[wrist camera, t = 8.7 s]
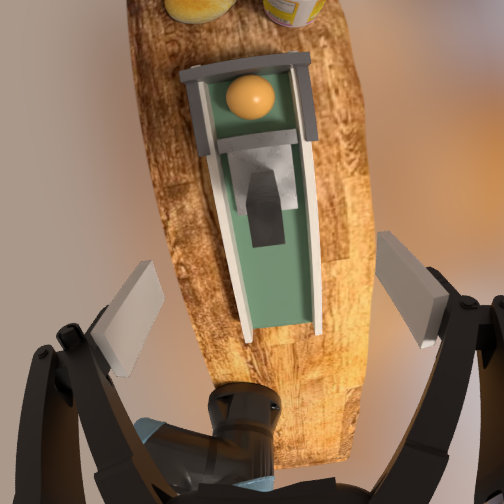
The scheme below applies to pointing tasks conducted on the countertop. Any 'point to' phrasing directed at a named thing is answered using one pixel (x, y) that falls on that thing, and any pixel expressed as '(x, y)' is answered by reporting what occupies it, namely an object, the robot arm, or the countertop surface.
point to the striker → (262, 180)
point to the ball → (250, 97)
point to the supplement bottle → (293, 11)
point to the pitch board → (294, 220)
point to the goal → (245, 67)
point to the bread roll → (197, 10)
